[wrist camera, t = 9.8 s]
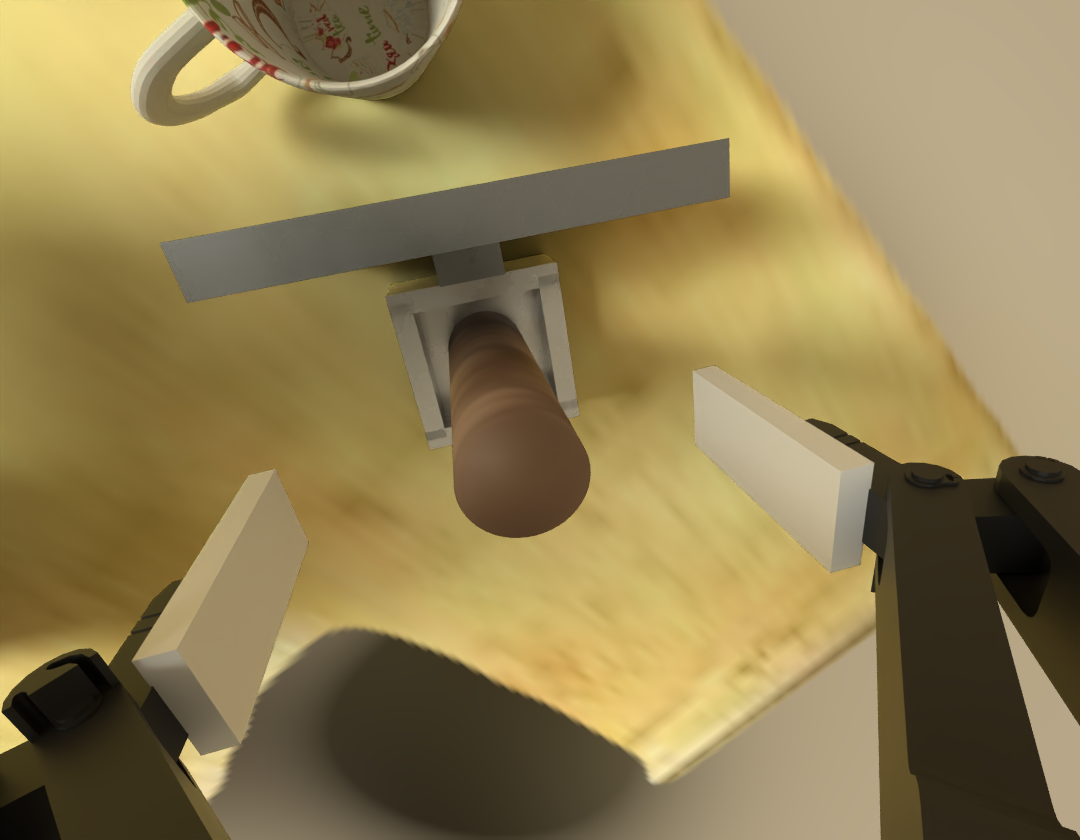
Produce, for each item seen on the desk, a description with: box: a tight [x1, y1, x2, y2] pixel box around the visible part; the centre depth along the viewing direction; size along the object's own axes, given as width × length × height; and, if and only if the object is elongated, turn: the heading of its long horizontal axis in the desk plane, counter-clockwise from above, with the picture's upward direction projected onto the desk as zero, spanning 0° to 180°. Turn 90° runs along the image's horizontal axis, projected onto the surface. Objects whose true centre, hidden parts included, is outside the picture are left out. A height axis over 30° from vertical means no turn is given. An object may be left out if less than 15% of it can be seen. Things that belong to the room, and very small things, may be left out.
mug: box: [131, 0, 463, 126], centre depth 18 cm, size 8×13×10 cm, turn 126°
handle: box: [448, 311, 591, 538], centre depth 21 cm, size 4×4×14 cm
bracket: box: [160, 138, 730, 450], centre depth 22 cm, size 16×12×12 cm
